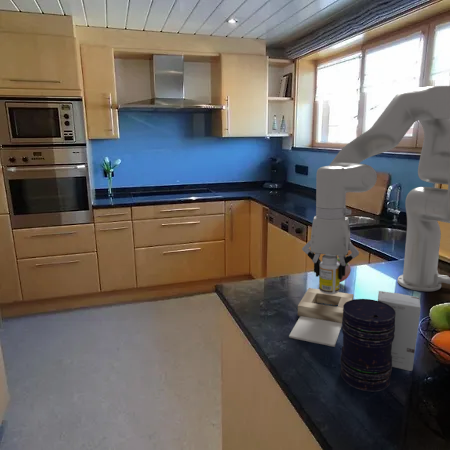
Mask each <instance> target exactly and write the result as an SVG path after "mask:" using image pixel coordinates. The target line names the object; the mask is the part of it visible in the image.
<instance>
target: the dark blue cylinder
mask: <svg viewBox="0 0 450 450" xmlns="http://www.w3.org/2000/svg"><path fill="white" fill-rule="evenodd" d="M395 316H396V312H395V310H394V309H393V308H392V307H391V306H389V305H388V304H385V303H383V302H380V301H378V300H376V299H369V298H355V299H354V298H353V300H350V301H348V302H346V303H345V304H344V306H343V317H342V327H341V331H342V334H343V337H342V346H341V348H340V349H341V352H340V377H341V378H342V379H343V381H344V382H345V383H346V384H348V385H349V386H350V387H352V388H355V389H357V390H360V391H364V392H380V391H384V390H386V389H387V388H388V387H389V386H390V384H391V376H392V370H393V367H392V355H391V349H392V342H393V340H394V336H395V335H394V332H395Z"/></svg>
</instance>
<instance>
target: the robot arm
mask: <svg viewBox="0 0 450 450" xmlns="http://www.w3.org/2000/svg"><path fill="white" fill-rule="evenodd" d="M418 121H419V122H420V125H421V126H422V130H423V141H422V142H423V143H422V146H421V147H422V148H421V152H420V157H419V161H418V168H417V175H418V178H419V179H420V180H421V181H423V182H427V183H430V184H438V185H439V184H440V185H447V189H445V188H438V187H430V186H418V187H414V188H412V189H411V190H410V191H409V192H408V193H407V195H406V198H405V203H404V205H405V213H406V237H405V249H404V260H403V270H402V271H403V272H402V274H400V275H399V276H398V277H397V283H398V284H399V285H400V286H402V287H404V288H406V289H409V290H412V291H417V292H435V291H439V290H440V289H441V288H442V283H443V284H447V285H450V277H449V275H444V274H440V273H439V271H438V265H439V255H440V246H441V245H440V244H441V237H442V236H441V235H442V232H441V227H440V224H439V222H442V223H448V224H450V85H434V86H423V87H418V88H410V89H405V90H402V91H400V92H398V93H397V94H396V95H395V96H394V97H393V98H392V100H391V101H390V103H389V104H388V105H387V106H386V107H385V109H384V111H383V112H382V113H381V114H380V115H379V117H378V118H377V120H376V121H375V122H374V123H373V125H372V126H371V127H370V128H369V129H367V130H366V131H365V132H363V133H362V134H360V135H358V136H357V137H355V138H354V139H352V140H351V141H350V142H349V143H347V144H346V145H345V146H343V147H342V148H341V149H340V150H339V152H338V153H337V154H336V155H335V157H334V158H333V160H332V161H331V162H330V163H329V165H325V166H321V167H319V168H318V169H317V170H316V182H315V184H316V186H315V187H316V188H315V190H316V191H315V192H316V195H315V199H316V200H315V201H316V202H315V203H316V204H315V206H316V207H315V215H314V217H313V220H312V224H311V233H310V240H309V241H308V242H307V243H306V244H304V246H303V247H302V248H301V250H302V251H303V252H304V253H305V254H306V255H307V257H309V259H310V260H311V261H312V263H313V273H314V274H315V278H317V277H318V278H319V264H320V263H321V262H322V260H321V259H320V256H321V255H326V254H327V255H335V256H336V255H337V258H339V260H340V262H341V263H340V265H339V279H340V280H342V277H343V276H345V270H346V264H347V263H350V262H351V261H352V260H353V259H355V258H357V257H358V256H359V254H360V251H359V250H358V249H357V248H356V246H355V245H353V243H352V242H351V227H350V220H349V217H347V216H349V215H352V209H349V208H347V206H346V202H347V201H346V200H347V199H346V197H347V193H364V192H368V191H371V189H373V188H374V187H375V185H376V184H377V180H378V176H377V175H378V174H377V171H375V169H374V168H373V167H372V166H371V165H369V164H366V163H365V164H364V163H362V162H363V161H365V160H367V159H369V158H371V157H374V156H376V155H377V156H378V155H380V154H383V153H386V152H389V151H390V150H393V149H395V148H396V147H397V146H398V145H399V144H400V142H401V141H402V139H403V138H404V137H405V136H406V134H407V133H408V131H409V130H410V129H411V127H413V125H414V124H415V123H416V122H418ZM349 251H350V252H351V253H350V254H348V253H349ZM346 255H347V256H346Z"/></svg>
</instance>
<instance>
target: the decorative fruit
mask: <svg viewBox="0 0 450 450" xmlns="http://www.w3.org/2000/svg"><path fill="white" fill-rule="evenodd" d="M335 256H337V262H338V263H339V264H340V263H341V262H340V260H339V257H338V255H335ZM351 271H352V269H351V265H350V262H348V263H347V264H346V270H345V276H343V277H342V280H340V283H343V282H344V281H346V280H347V279H348V278H349V276H350V274H351Z"/></svg>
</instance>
